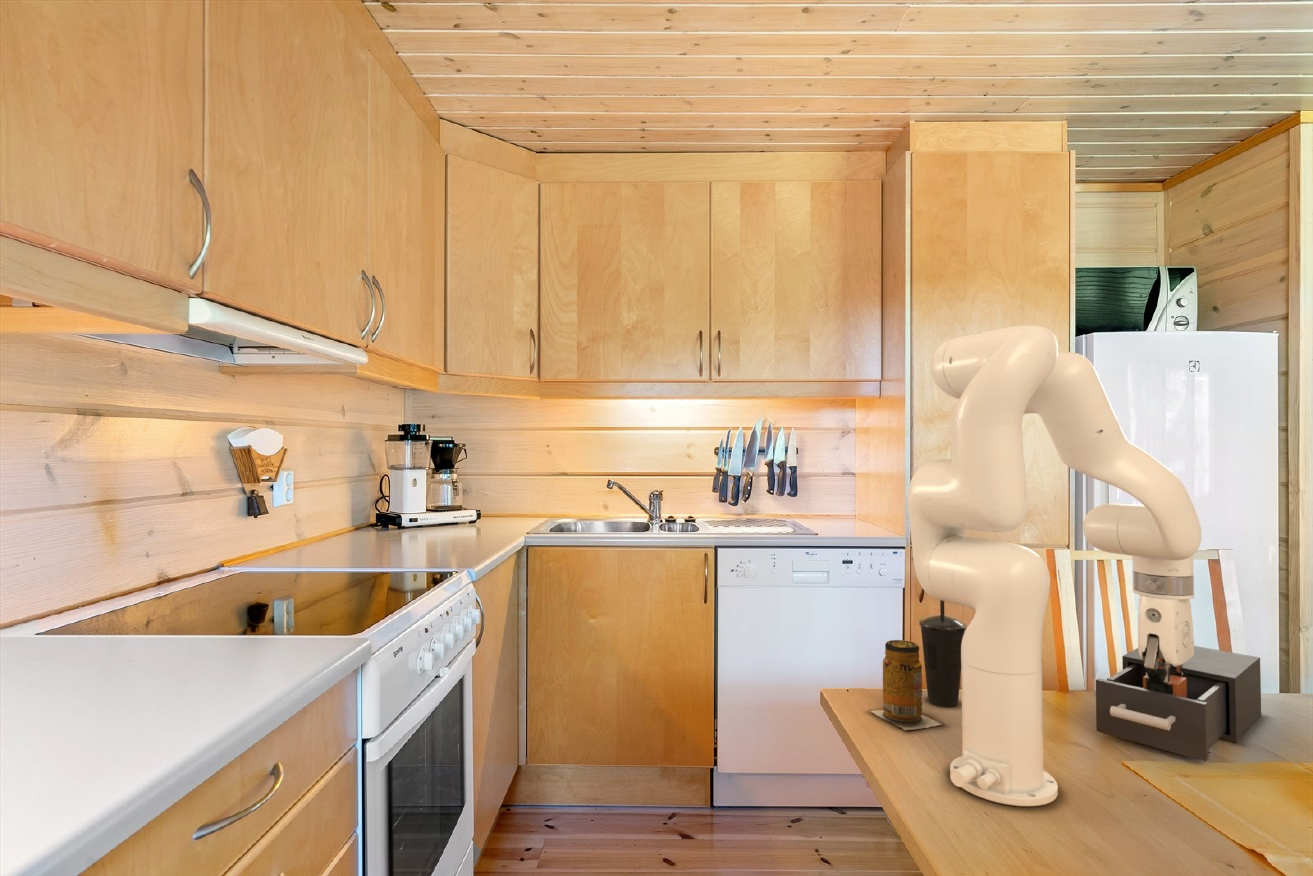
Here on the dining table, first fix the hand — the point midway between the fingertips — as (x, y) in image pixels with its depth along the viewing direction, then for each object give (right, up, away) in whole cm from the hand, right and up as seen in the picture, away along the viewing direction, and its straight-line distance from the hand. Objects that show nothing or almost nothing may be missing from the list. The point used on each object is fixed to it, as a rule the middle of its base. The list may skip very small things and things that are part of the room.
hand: (1165, 704), depth 104 cm
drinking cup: (-28, -6, +15) cm, 32 cm away
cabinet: (+11, -5, +9) cm, 15 cm away
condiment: (-37, -6, +7) cm, 38 cm away
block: (0, 0, 0) cm, 0 cm away
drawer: (-2, -4, -2) cm, 5 cm away
